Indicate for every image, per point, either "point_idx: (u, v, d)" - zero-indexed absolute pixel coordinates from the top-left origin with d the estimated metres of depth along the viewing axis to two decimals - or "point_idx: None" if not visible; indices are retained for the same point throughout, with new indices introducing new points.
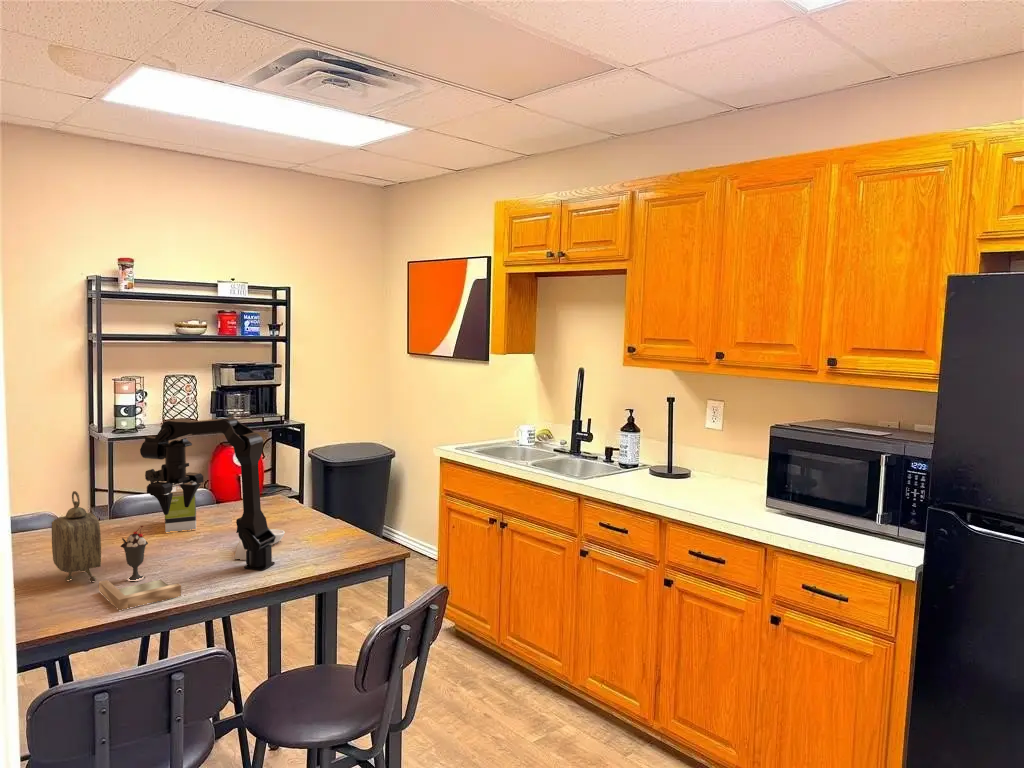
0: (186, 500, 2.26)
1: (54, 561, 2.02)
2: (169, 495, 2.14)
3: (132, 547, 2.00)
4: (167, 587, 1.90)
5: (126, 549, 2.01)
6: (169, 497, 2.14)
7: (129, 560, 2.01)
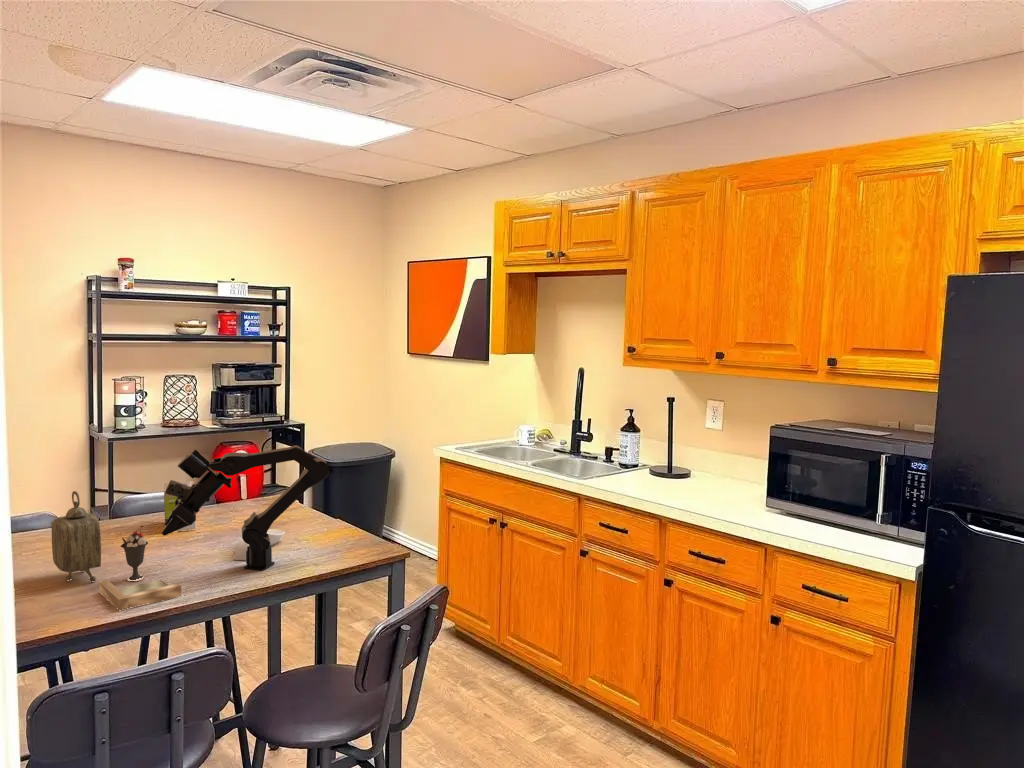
0: None
1: (54, 561, 2.02)
2: None
3: (132, 547, 2.00)
4: (167, 587, 1.90)
5: (126, 549, 2.01)
6: None
7: (129, 560, 2.01)
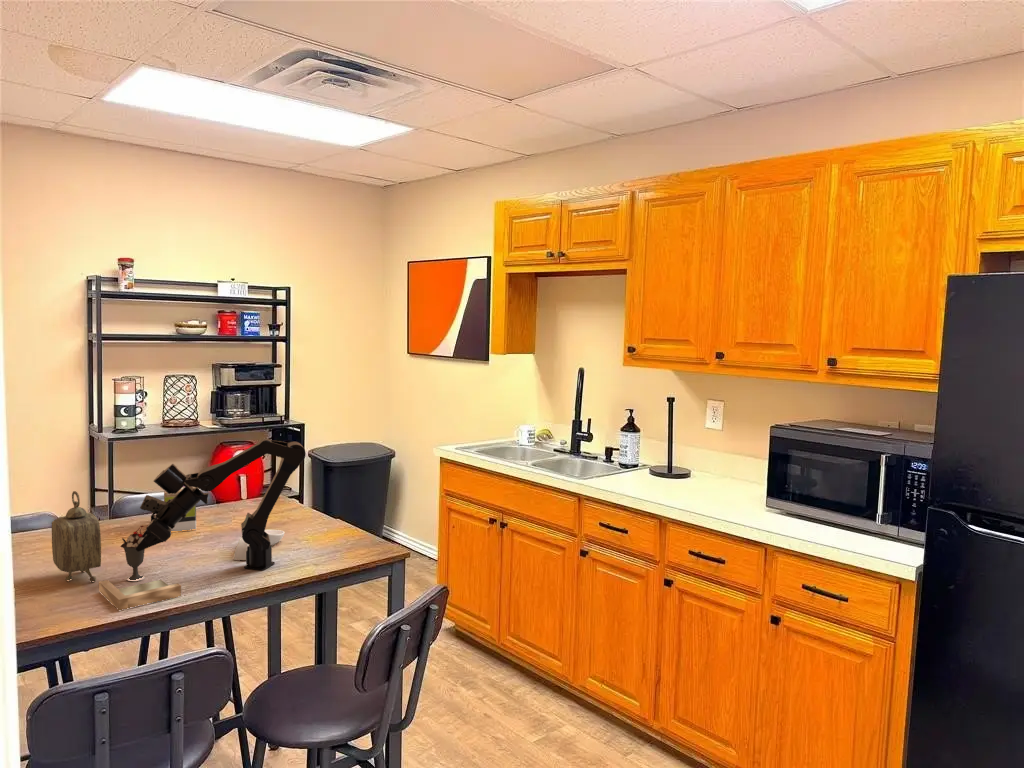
0: None
1: (54, 561, 2.02)
2: None
3: (132, 547, 2.00)
4: (167, 587, 1.90)
5: (126, 549, 2.01)
6: None
7: (129, 560, 2.01)
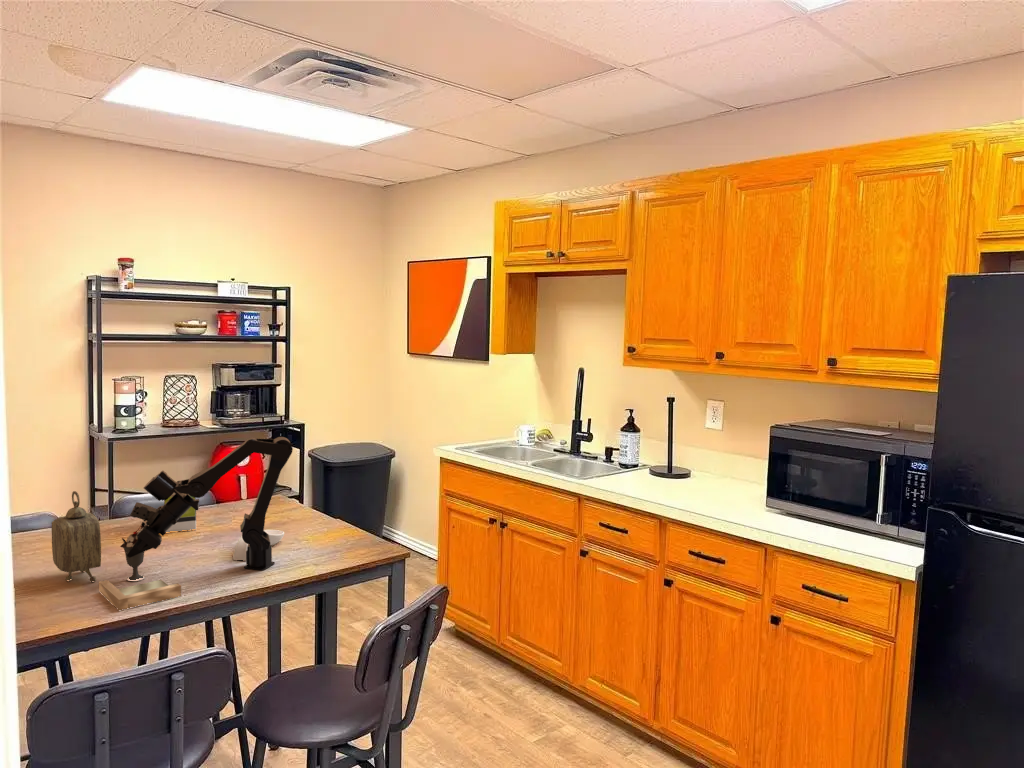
0: None
1: (54, 561, 2.02)
2: None
3: None
4: (167, 587, 1.90)
5: (126, 549, 2.01)
6: None
7: (129, 560, 2.01)
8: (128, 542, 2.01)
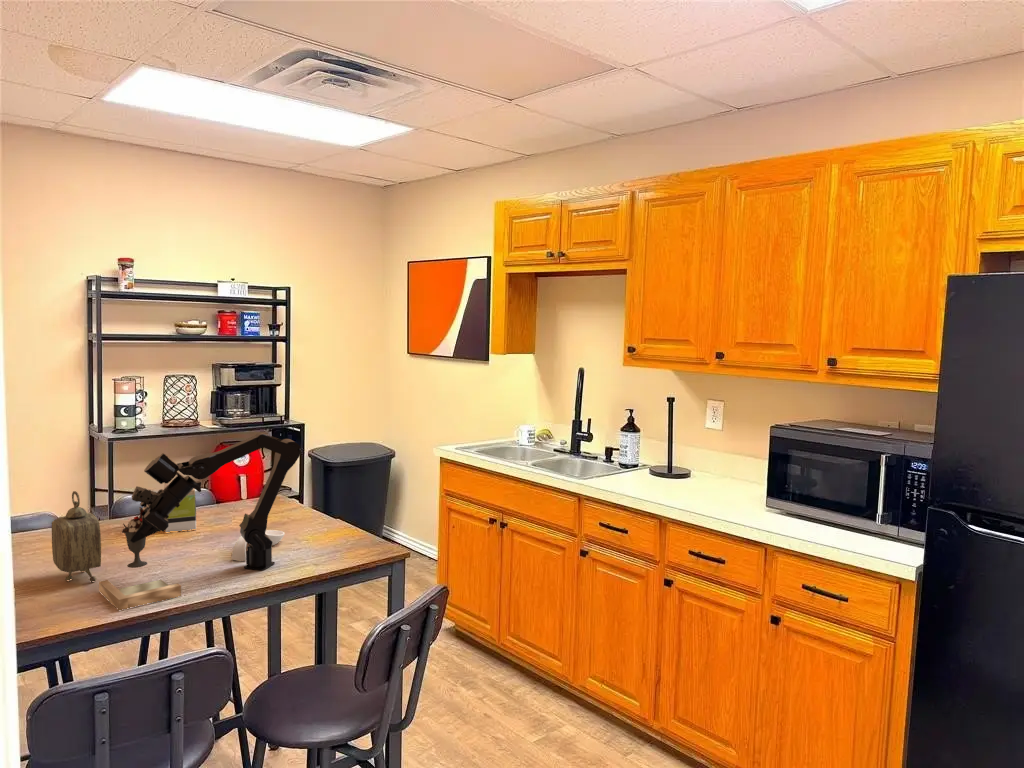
0: None
1: (54, 561, 2.02)
2: None
3: None
4: (167, 587, 1.90)
5: (128, 534, 1.96)
6: None
7: (131, 545, 1.96)
8: (130, 527, 1.96)
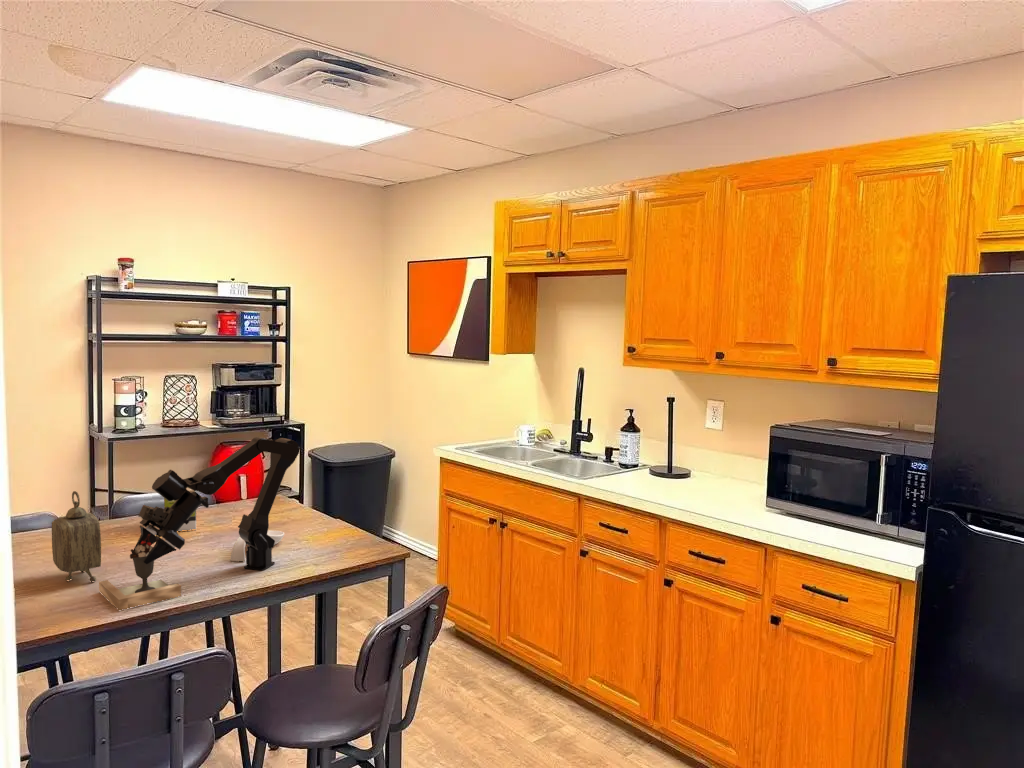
0: None
1: (54, 561, 2.02)
2: None
3: (146, 556, 1.91)
4: (167, 587, 1.90)
5: (138, 560, 1.90)
6: None
7: (141, 571, 1.91)
8: (139, 552, 1.91)
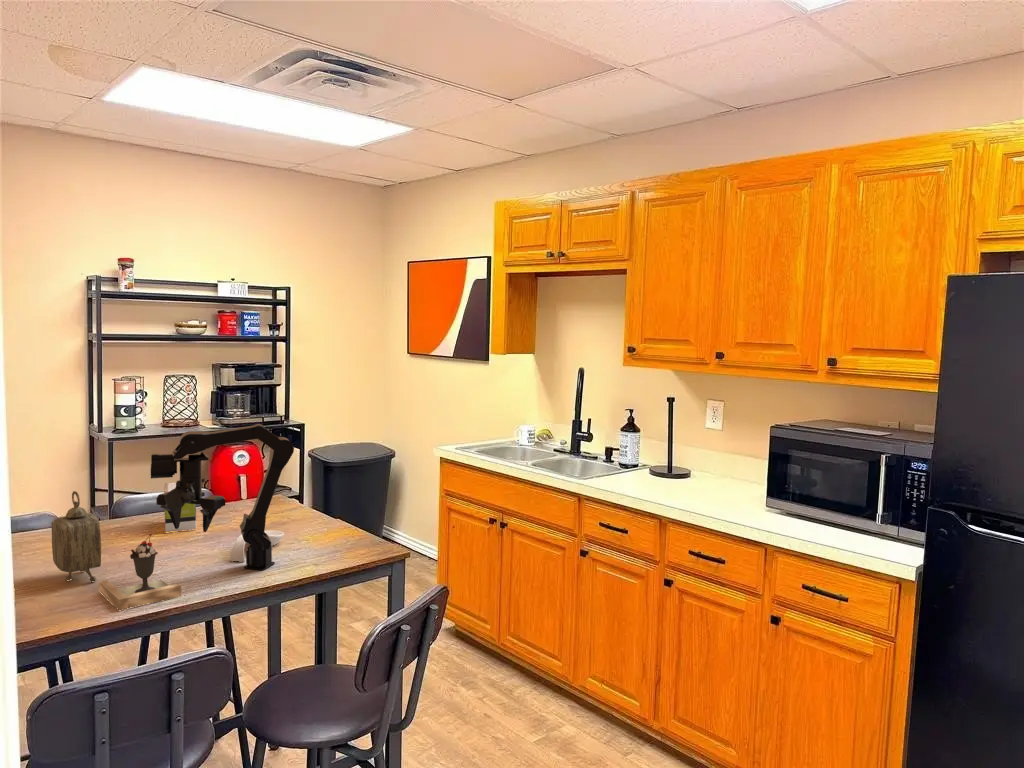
0: (177, 521, 2.08)
1: (54, 561, 2.02)
2: None
3: (146, 557, 1.91)
4: (167, 587, 1.90)
5: (139, 560, 1.90)
6: None
7: (142, 571, 1.91)
8: (140, 552, 1.91)
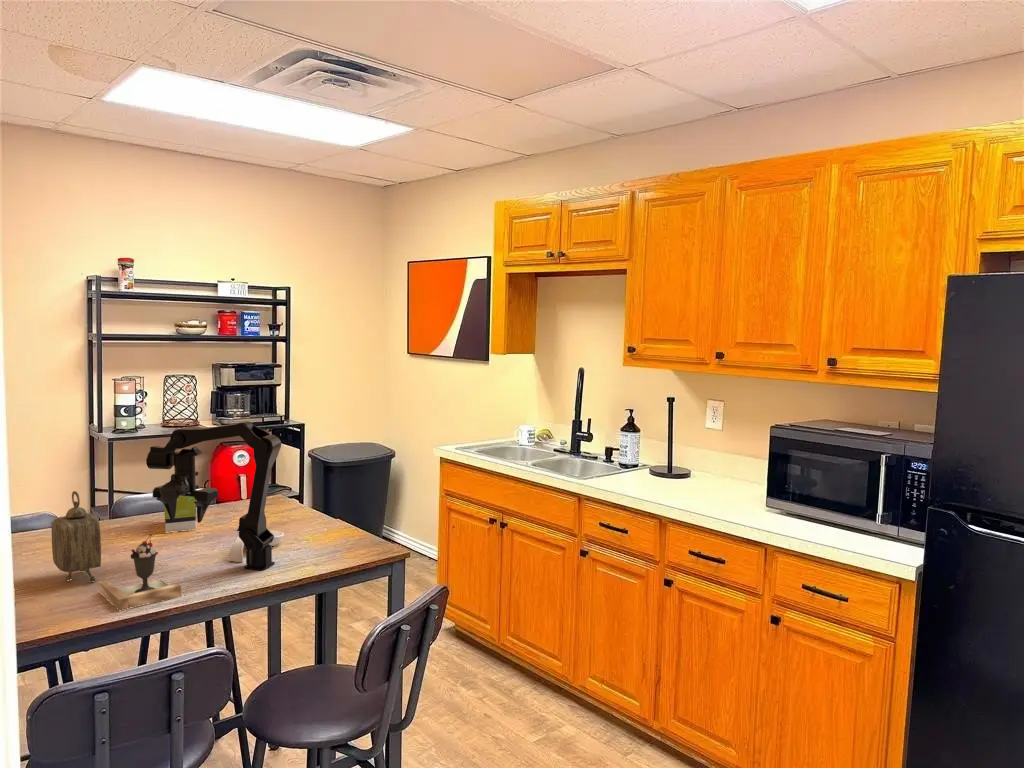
0: (173, 512, 2.17)
1: (54, 561, 2.02)
2: None
3: (147, 557, 1.91)
4: (167, 587, 1.90)
5: (139, 560, 1.90)
6: None
7: (142, 571, 1.91)
8: (140, 552, 1.91)
